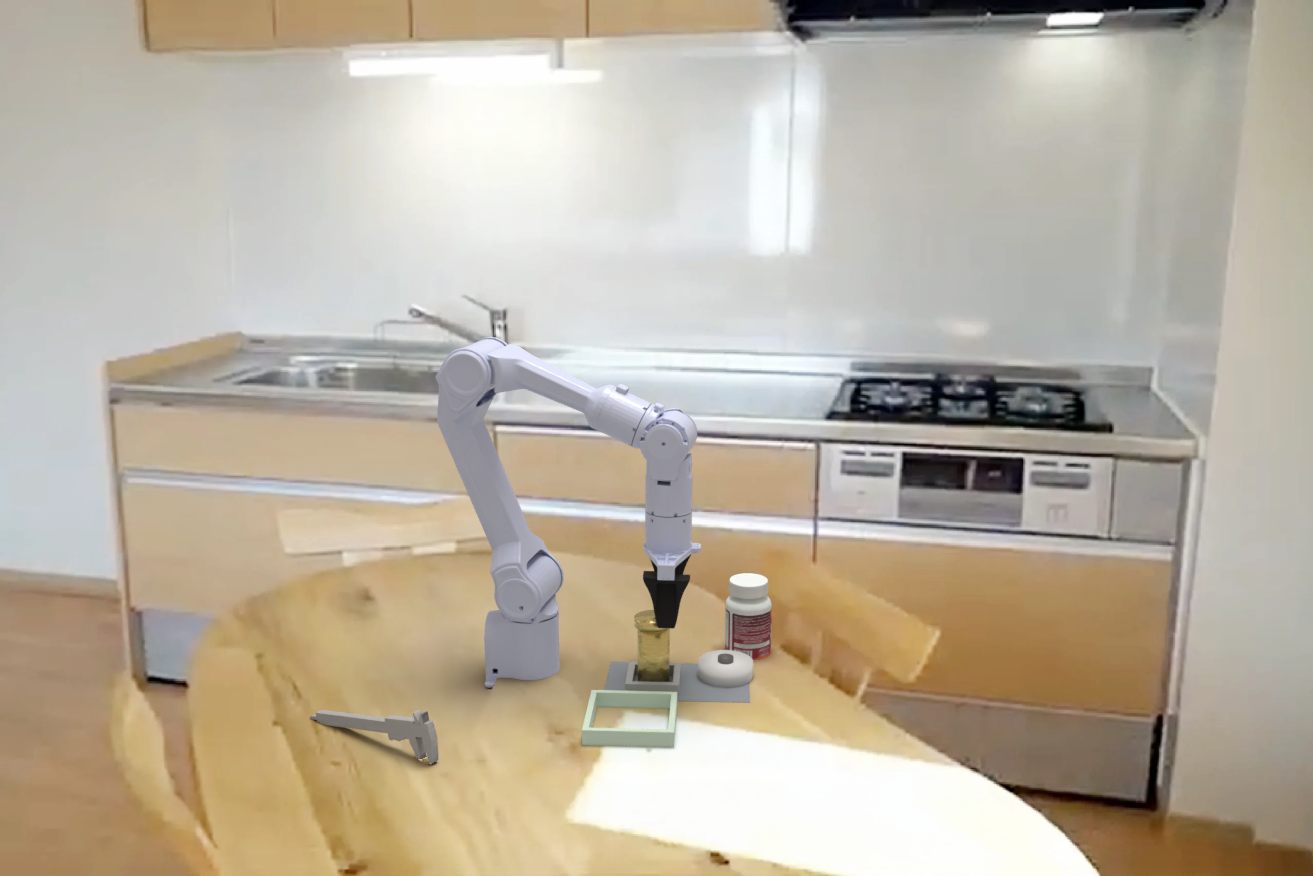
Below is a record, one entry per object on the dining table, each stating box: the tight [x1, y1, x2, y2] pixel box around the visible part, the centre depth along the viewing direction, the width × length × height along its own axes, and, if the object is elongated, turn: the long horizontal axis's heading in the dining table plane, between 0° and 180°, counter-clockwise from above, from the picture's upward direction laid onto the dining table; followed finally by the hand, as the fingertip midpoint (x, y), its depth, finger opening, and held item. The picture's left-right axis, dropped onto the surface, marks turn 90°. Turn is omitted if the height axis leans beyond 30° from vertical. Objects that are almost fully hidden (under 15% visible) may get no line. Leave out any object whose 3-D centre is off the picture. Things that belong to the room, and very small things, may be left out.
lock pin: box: [633, 609, 671, 682], centre depth 153 cm, size 5×5×9 cm
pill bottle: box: [724, 572, 773, 661], centre depth 163 cm, size 6×6×11 cm
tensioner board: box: [604, 649, 754, 704], centre depth 155 cm, size 18×11×4 cm, turn 87°
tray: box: [581, 689, 678, 749], centre depth 144 cm, size 10×10×3 cm
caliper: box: [309, 709, 439, 765], centre depth 142 cm, size 20×1×6 cm, turn 56°
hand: (667, 615), depth 153 cm, fingers open, 7 cm apart
